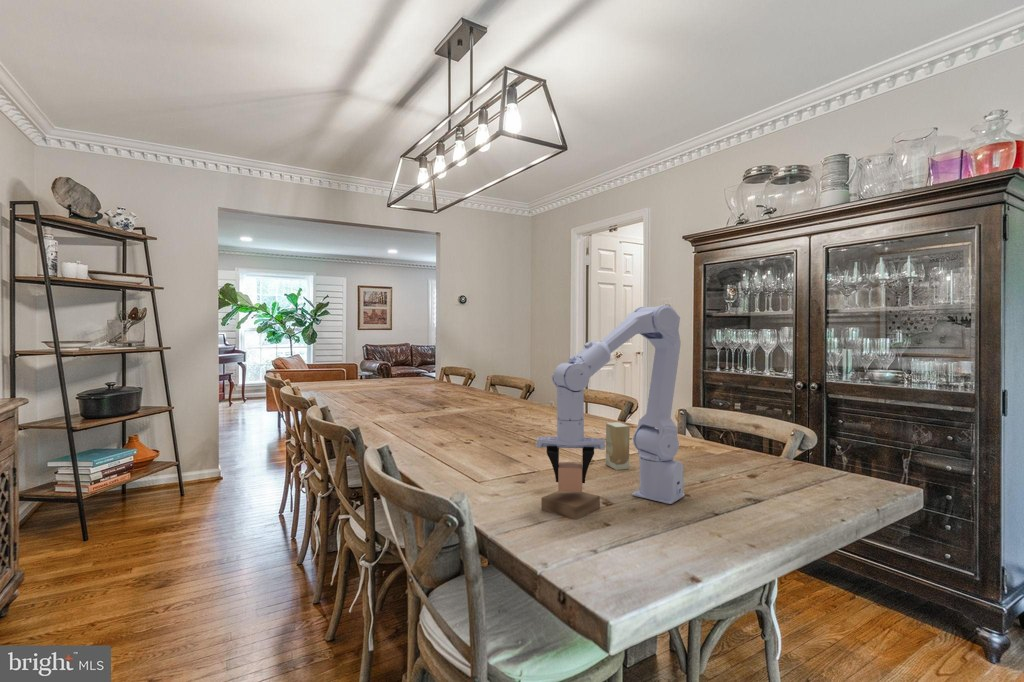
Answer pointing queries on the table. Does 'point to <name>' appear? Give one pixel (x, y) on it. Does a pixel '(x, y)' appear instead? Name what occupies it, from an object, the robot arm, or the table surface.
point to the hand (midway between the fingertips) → (570, 481)
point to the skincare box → (617, 445)
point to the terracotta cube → (570, 477)
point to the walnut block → (570, 504)
